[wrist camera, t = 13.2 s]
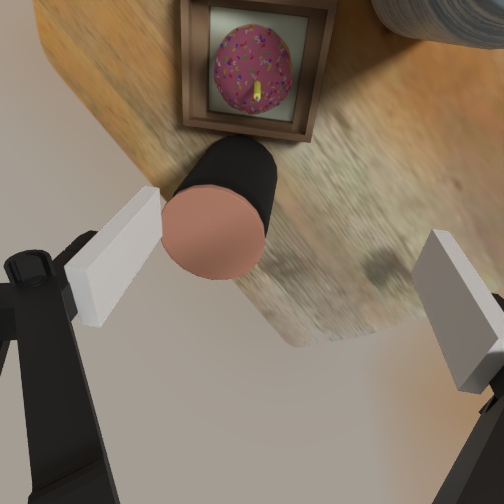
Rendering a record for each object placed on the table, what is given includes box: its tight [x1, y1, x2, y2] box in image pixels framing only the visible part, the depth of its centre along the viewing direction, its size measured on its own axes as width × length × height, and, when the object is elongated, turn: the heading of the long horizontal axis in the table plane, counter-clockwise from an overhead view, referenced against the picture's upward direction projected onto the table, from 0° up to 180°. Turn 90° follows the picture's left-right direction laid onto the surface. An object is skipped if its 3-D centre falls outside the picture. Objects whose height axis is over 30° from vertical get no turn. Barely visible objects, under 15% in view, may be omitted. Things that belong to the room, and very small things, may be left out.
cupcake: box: [213, 24, 293, 115], centre depth 35 cm, size 9×8×12 cm
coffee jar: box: [161, 136, 277, 280], centre depth 40 cm, size 11×11×18 cm
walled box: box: [180, 0, 338, 143], centre depth 39 cm, size 14×16×3 cm
